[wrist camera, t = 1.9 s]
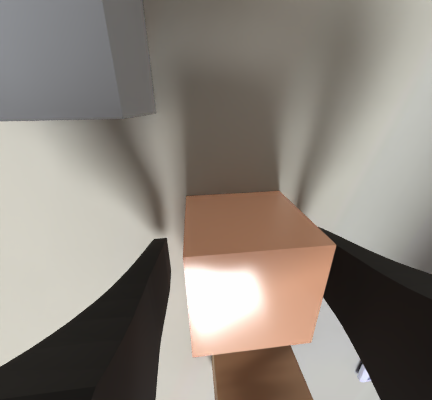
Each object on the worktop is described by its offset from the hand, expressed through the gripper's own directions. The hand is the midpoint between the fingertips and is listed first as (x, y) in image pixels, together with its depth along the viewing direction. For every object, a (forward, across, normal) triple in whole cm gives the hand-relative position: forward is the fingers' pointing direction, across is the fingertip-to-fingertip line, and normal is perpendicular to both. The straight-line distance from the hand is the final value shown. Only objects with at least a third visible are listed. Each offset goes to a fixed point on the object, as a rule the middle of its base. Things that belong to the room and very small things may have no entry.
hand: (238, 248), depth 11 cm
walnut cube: (+2, -1, +10) cm, 10 cm away
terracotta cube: (+2, 0, 0) cm, 2 cm away
